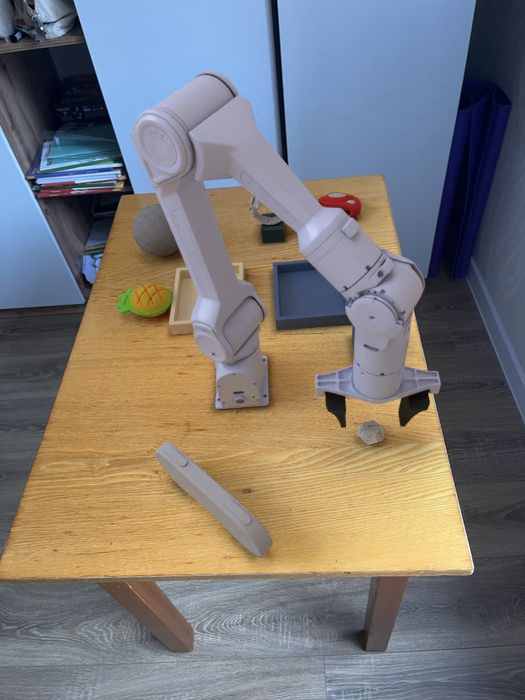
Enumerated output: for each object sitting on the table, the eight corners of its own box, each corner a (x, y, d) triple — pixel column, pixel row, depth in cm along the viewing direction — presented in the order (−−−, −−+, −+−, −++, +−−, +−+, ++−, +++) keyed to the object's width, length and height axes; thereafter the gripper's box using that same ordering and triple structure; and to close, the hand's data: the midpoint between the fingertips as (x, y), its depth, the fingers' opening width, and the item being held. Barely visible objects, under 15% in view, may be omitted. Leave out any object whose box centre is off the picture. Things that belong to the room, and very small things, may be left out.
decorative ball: (193, 234, 106) (183, 192, 98) (184, 266, 99) (171, 224, 92) (147, 235, 107) (133, 194, 100) (135, 267, 101) (119, 225, 93)
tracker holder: (337, 186, 110) (372, 194, 102) (337, 207, 112) (371, 216, 105) (293, 198, 104) (327, 206, 96) (294, 219, 106) (327, 229, 99)
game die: (385, 448, 70) (387, 437, 68) (358, 449, 70) (359, 438, 68) (381, 426, 72) (383, 414, 70) (355, 427, 72) (356, 416, 70)
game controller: (277, 552, 62) (271, 526, 56) (265, 566, 61) (257, 542, 55) (175, 459, 72) (160, 428, 66) (163, 471, 71) (146, 440, 65)
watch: (254, 227, 105) (247, 179, 97) (293, 224, 104) (289, 175, 96) (252, 244, 102) (245, 196, 93) (293, 241, 101) (289, 192, 93)
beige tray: (244, 328, 87) (242, 318, 85) (172, 334, 88) (168, 324, 86) (245, 271, 97) (243, 261, 95) (179, 278, 97) (176, 267, 95)
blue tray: (351, 324, 85) (352, 313, 83) (276, 330, 86) (275, 320, 84) (341, 266, 95) (341, 256, 93) (273, 272, 96) (272, 262, 94)
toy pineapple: (172, 324, 89) (164, 302, 85) (117, 325, 91) (107, 304, 87) (179, 296, 94) (171, 274, 90) (127, 298, 95) (117, 277, 91)
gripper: (439, 327, 59) (423, 394, 70) (314, 331, 61) (316, 397, 71) (451, 375, 55) (432, 440, 65) (315, 379, 56) (317, 441, 67)
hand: (372, 420), depth 68 cm, fingers open, 7 cm apart
